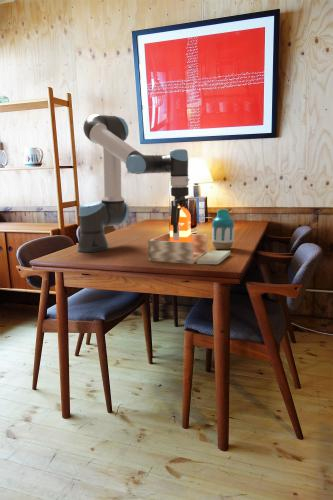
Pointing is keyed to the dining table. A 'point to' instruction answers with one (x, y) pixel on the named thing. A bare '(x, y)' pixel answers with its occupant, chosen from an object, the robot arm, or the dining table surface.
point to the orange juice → (183, 226)
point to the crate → (177, 249)
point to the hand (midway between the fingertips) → (180, 238)
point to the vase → (223, 230)
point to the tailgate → (213, 257)
